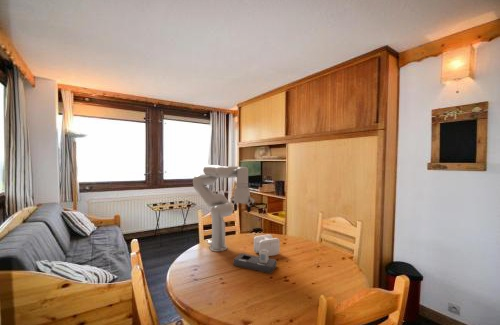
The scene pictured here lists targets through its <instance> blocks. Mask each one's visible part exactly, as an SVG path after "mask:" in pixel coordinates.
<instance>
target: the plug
mask: <svg viewBox="0 0 500 325" xmlns="http://www.w3.org/2000/svg"><path fill="white" fill-rule="evenodd" d="M259 257H260V263H265V264H267V263H268V262H269V258H270V256H269V251H268V250H266V249H262V250H261V251H260V255H259Z"/></svg>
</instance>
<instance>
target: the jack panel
mask: <svg viewBox="0 0 500 325" xmlns="http://www.w3.org/2000/svg"><path fill="white" fill-rule="evenodd" d="M233 266H236V267H240V268H244V269H249V270H252V271H256V272H261V273H267V274H272V273H273V272H274V271H275V269H276V268H277V259H274V258H270V257H269V262H268V263H267V264H265V263H260V255H259V256H258V255H255V254H254V255H253V254H250V253H249V254H248V253H243V252H240V253H239V254H238V255H237V256H235V257H234V258H233Z"/></svg>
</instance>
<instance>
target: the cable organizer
mask: <svg viewBox="0 0 500 325" xmlns="http://www.w3.org/2000/svg"><path fill="white" fill-rule="evenodd" d="M280 242H281V241H280V238H278V237H274V238H273V235H272V234H270V233H269V234H263V235H256V236H254V237H253V252H254V253H256V254H258V255H259V256H260V251H261V250H262V249H266V250H268V251H269V257H275V256H276V255H279V254H280V251H281V250H280V246H281V245H280Z"/></svg>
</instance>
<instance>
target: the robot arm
mask: <svg viewBox="0 0 500 325" xmlns="http://www.w3.org/2000/svg"><path fill="white" fill-rule="evenodd" d="M202 171H203V174H197V175H195V176H194V177H193V178H192V185H193V186H192V187H193V188H194V190H195V191H196V192H197V193H198V195H199V196H200V197H201V199H202V201H203V202H204V203H205V205H206V206H207V207H208V208H211V209H210V216H211V217H210V218H211V240H208V241H207V245H209V250H210V251H212V252H216V253H217V252H224V251H226V250H227V249H228V245H227V244H226V222H225V220H224V218H226V217H229V216H232V214H233V213H234V212H237V211H238V204H243V205H244V204H246V205H247V207H246V208H247V209H246V210H247V211H246V212H247V213H248V214H249V213H251V211H252V205H253V204H254V203H255V201H256V200H255V199H254V198H253V197H251V192H250V188H249V168H248V167H247V166H237V165H235V166H233V165H232V166H231V165H230V166H224V165H221V164H207V165H205V166H204V168H203V170H202ZM219 178H224V179H230V178H231V179H232V178H236V183H235V184H234V186H236V187H235V189H234V194H233V196H231V197H230V201H231V202H230V201H229V200H228V199H227V197H226V196H225V195H224V194H223V193H221V192H219V193H213V192H212V191H211V189H210V188H209V187H207V186H209V185H210V186H211V185H213V184H215V182H216V181H217V180H218V179H219Z"/></svg>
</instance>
